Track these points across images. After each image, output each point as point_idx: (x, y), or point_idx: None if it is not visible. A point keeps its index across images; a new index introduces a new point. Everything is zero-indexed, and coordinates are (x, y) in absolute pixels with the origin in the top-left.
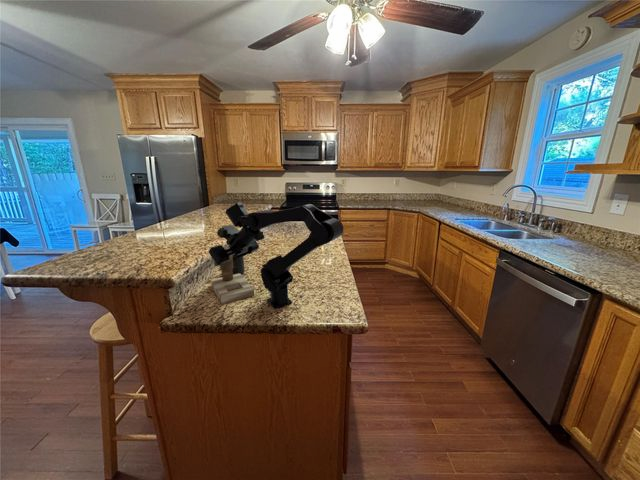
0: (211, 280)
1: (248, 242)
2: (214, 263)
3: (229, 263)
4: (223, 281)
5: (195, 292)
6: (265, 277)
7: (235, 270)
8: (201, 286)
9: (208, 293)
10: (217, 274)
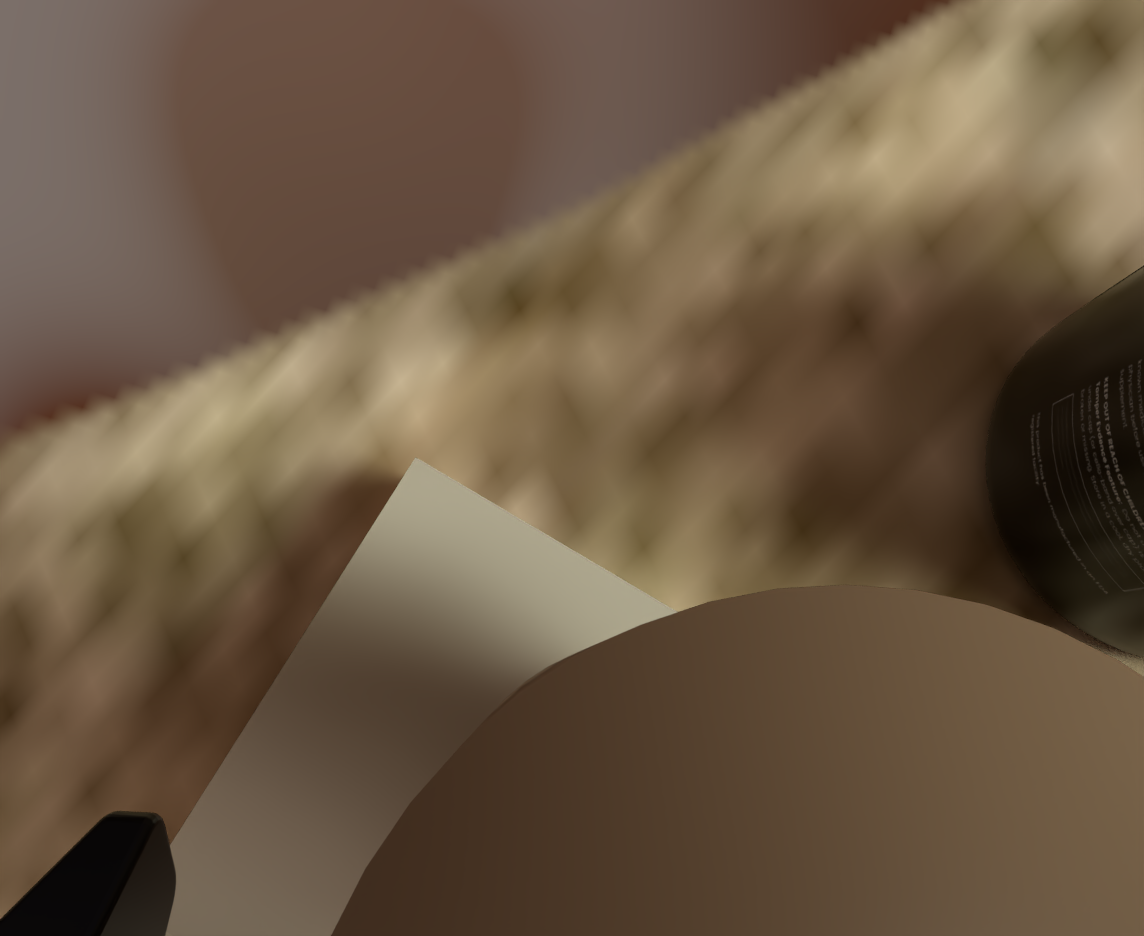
0: (386, 506)
1: None
2: (47, 889)
3: None
4: None
5: (76, 435)
6: None
7: (1097, 582)
8: (319, 329)
9: (143, 702)
10: (882, 175)
